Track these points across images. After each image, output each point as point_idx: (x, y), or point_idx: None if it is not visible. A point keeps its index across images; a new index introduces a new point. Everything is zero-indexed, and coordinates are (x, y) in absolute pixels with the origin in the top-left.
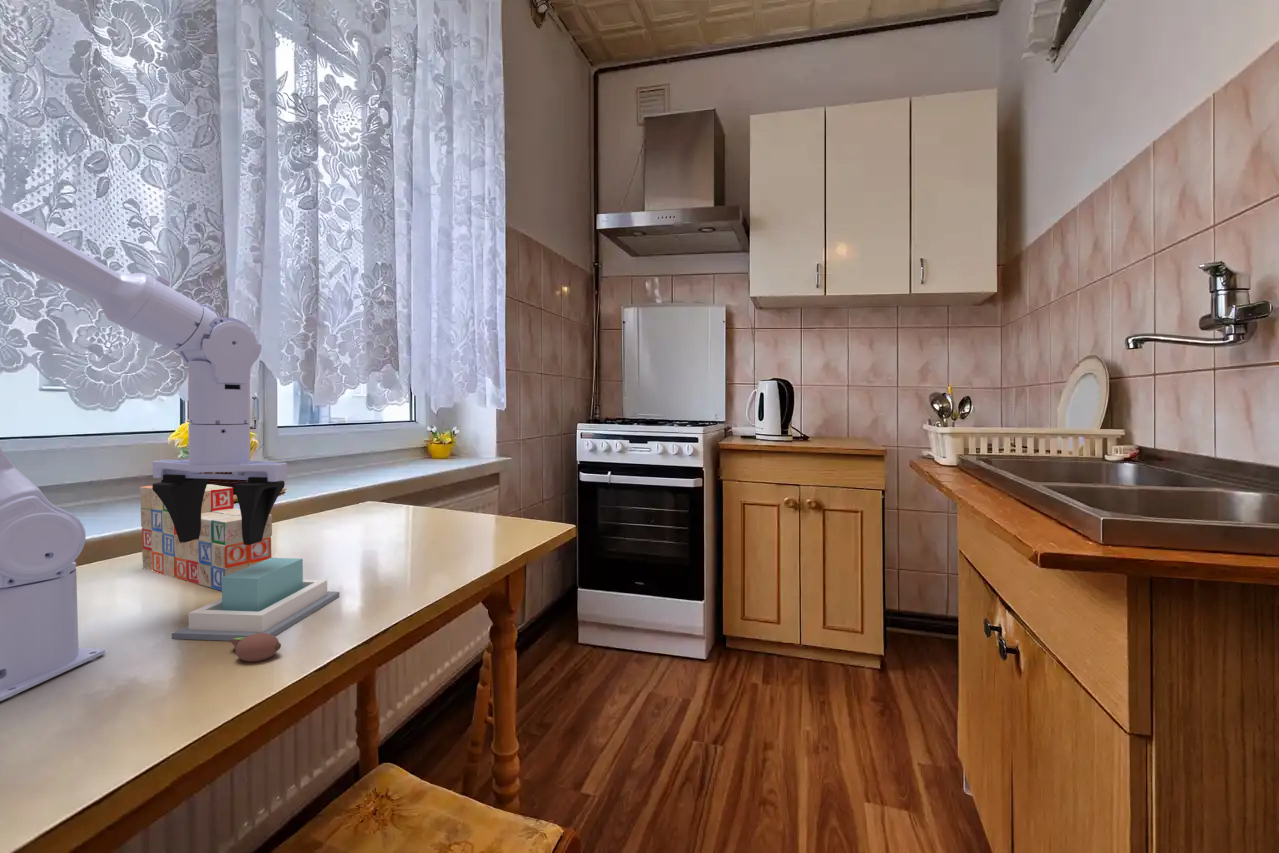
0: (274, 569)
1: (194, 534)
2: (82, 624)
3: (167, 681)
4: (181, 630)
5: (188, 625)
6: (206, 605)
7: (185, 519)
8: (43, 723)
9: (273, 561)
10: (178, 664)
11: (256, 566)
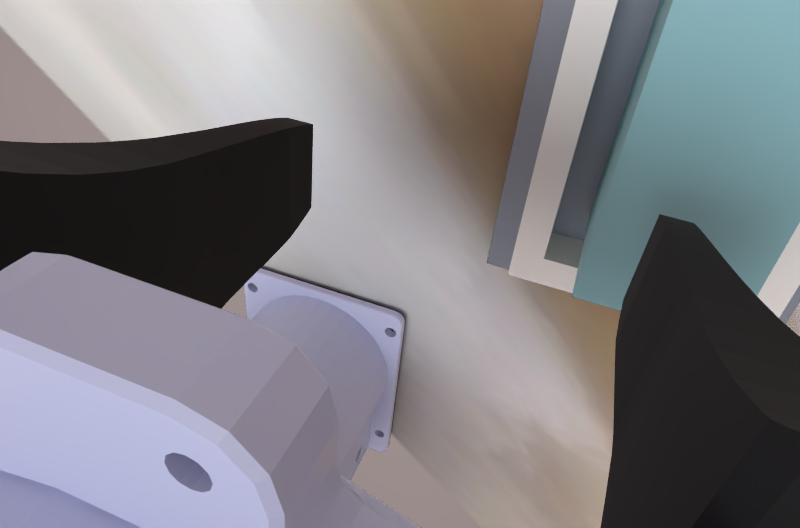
0: (776, 225)
1: (298, 163)
2: (204, 113)
3: (609, 455)
4: (501, 250)
5: (499, 218)
6: (526, 220)
7: (240, 249)
8: (496, 512)
9: (726, 62)
10: (590, 394)
11: (660, 158)
